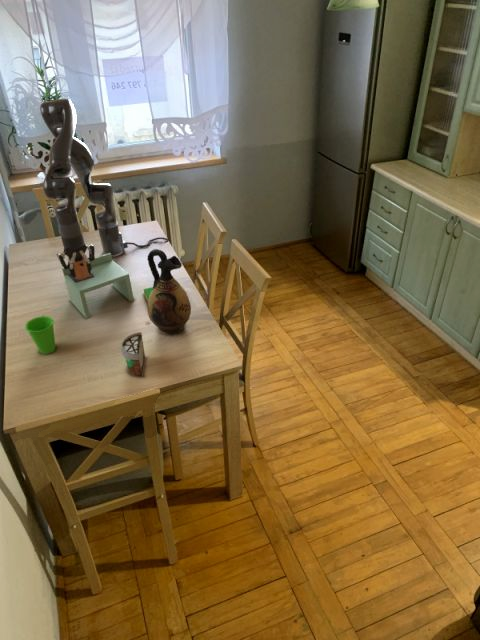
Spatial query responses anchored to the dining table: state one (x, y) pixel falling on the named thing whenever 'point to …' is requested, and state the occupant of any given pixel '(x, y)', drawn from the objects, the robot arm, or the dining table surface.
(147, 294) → the dish sponge
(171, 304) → the ceramic jug
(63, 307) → the dining table surface
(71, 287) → the shelf
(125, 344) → the food container
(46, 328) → the cup
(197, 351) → the dining table surface
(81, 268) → the copper pot
